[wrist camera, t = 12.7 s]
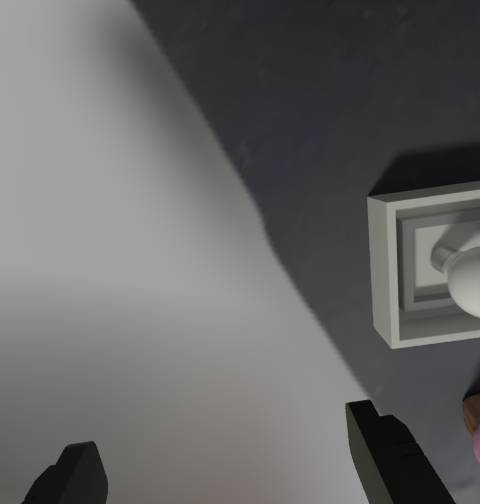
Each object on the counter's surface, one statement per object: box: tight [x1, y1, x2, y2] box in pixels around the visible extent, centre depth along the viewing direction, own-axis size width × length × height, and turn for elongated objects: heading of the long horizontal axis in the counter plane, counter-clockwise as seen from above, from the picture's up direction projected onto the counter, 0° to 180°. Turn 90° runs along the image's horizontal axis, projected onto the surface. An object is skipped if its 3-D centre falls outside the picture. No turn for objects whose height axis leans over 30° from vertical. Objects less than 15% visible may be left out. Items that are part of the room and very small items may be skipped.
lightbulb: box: [430, 246, 480, 318], centre depth 34 cm, size 6×6×11 cm
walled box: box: [367, 181, 480, 349], centre depth 38 cm, size 15×15×5 cm
